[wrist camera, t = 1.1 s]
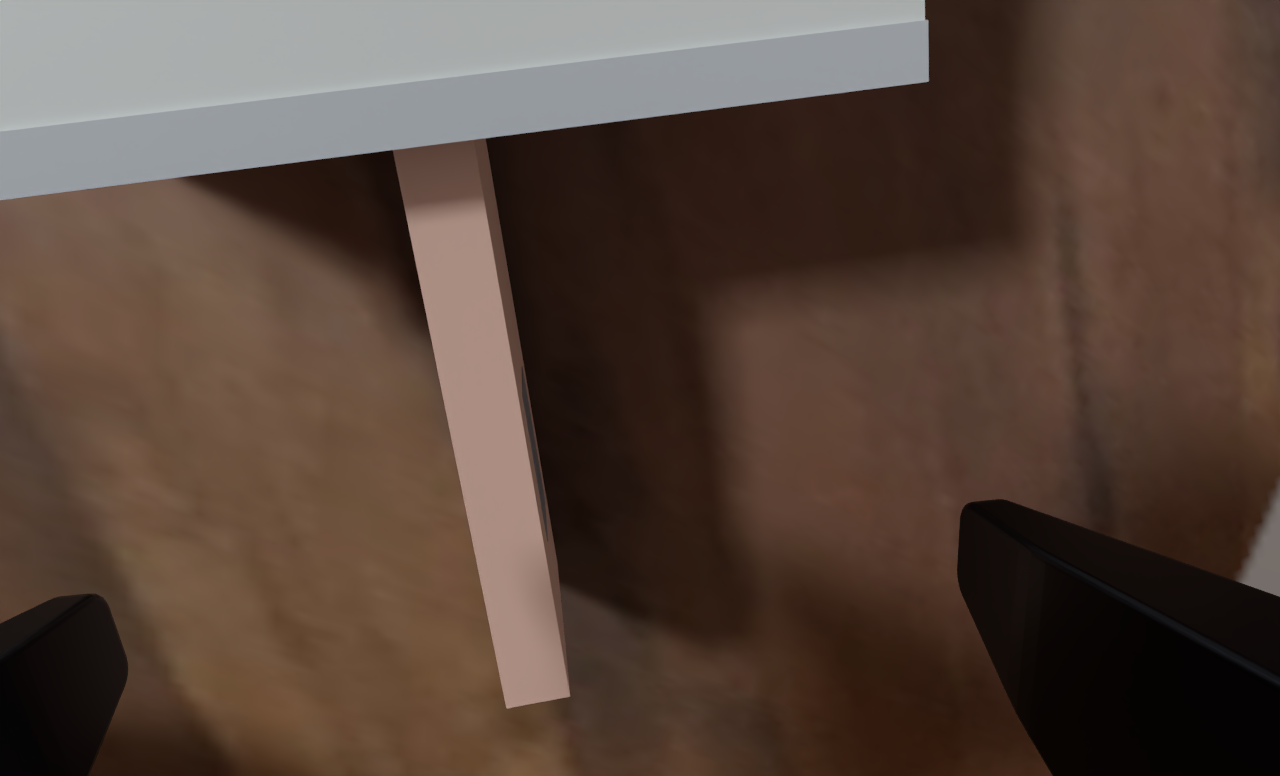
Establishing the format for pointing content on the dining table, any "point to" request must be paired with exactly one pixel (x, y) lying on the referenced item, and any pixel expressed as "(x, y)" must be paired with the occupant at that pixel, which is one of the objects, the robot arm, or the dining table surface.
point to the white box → (399, 74)
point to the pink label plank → (488, 409)
